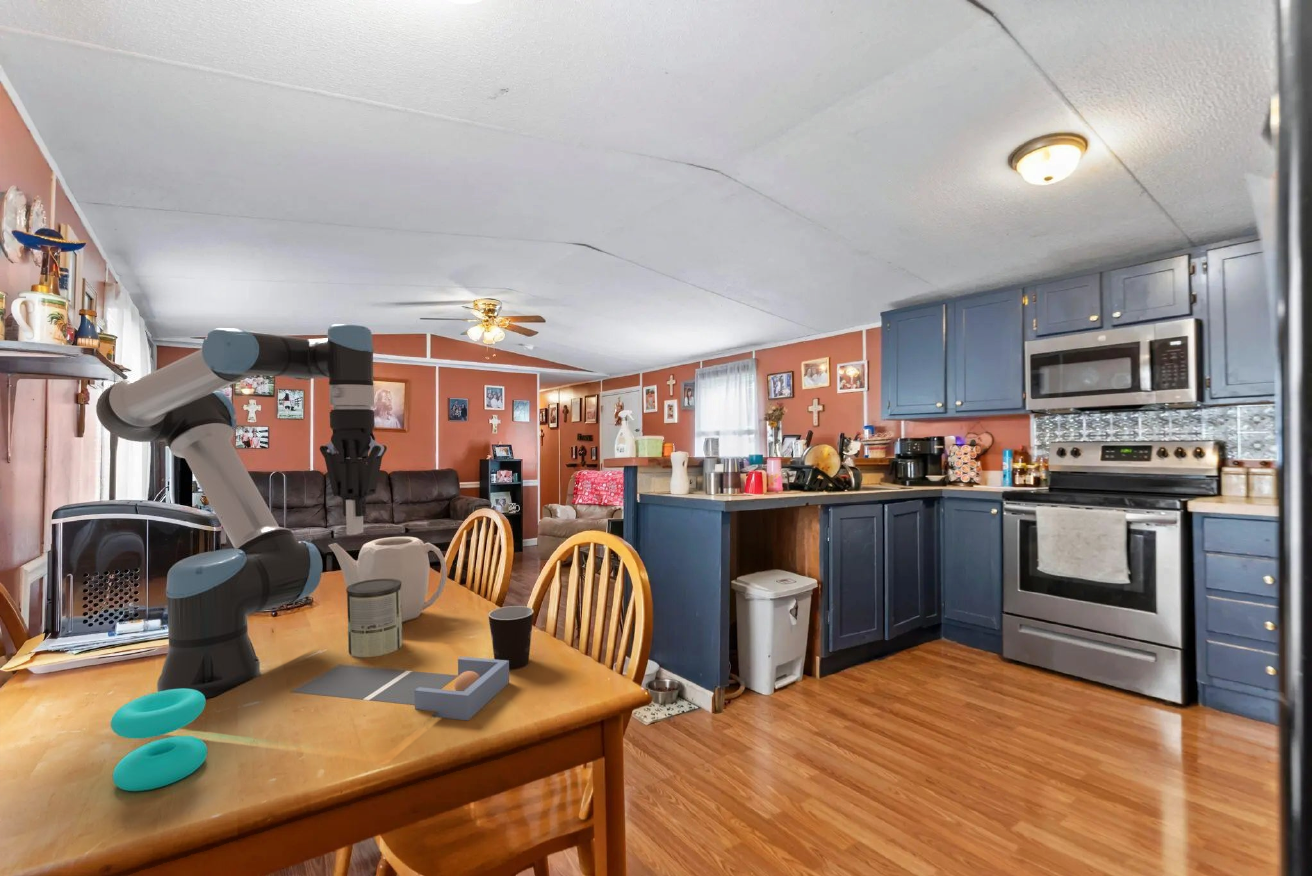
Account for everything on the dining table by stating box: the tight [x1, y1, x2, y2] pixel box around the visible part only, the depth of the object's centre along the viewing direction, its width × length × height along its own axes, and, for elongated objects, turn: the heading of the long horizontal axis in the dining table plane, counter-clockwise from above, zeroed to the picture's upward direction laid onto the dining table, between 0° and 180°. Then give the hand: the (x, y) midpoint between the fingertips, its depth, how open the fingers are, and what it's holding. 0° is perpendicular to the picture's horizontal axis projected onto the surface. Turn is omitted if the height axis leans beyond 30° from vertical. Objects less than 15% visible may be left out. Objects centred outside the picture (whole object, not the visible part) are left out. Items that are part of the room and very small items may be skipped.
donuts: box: [110, 688, 208, 792], centre depth 83 cm, size 10×10×10 cm
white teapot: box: [327, 536, 448, 623], centre depth 148 cm, size 16×27×19 cm, turn 101°
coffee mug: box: [487, 605, 535, 671], centre depth 122 cm, size 12×9×10 cm
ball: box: [454, 671, 480, 691], centre depth 106 cm, size 4×4×4 cm
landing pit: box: [414, 656, 510, 721], centre depth 105 cm, size 10×14×4 cm, turn 167°
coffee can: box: [345, 579, 403, 658], centre depth 126 cm, size 10×10×14 cm
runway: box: [290, 664, 458, 706], centre depth 109 cm, size 25×12×1 cm, turn 77°
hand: (355, 533), depth 116 cm, fingers closed
